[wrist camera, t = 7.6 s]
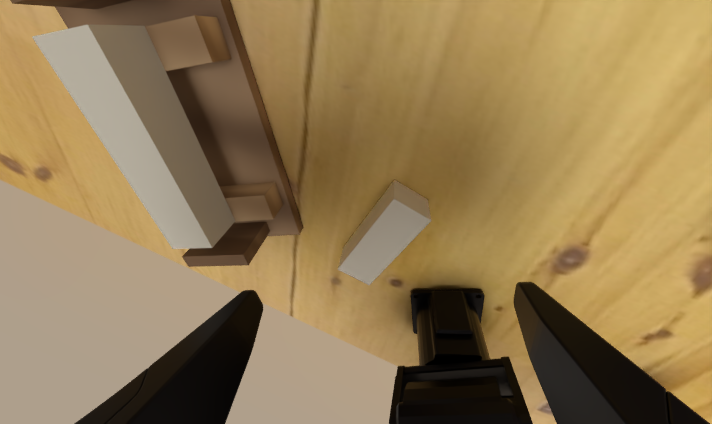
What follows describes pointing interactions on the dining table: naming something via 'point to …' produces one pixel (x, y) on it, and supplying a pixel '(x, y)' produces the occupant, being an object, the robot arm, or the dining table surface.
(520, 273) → the dining table surface
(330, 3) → the dining table surface
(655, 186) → the dining table surface
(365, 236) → the clay offcut
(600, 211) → the dining table surface
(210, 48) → the wooden slotted stand
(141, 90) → the grey rectangular bar
